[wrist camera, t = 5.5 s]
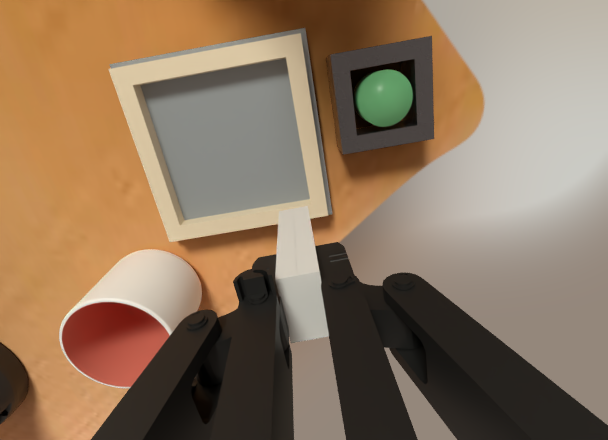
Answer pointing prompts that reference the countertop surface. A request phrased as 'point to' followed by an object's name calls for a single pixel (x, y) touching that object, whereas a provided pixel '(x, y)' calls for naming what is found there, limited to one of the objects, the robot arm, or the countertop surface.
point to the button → (383, 97)
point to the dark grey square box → (412, 65)
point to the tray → (227, 133)
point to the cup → (129, 316)
